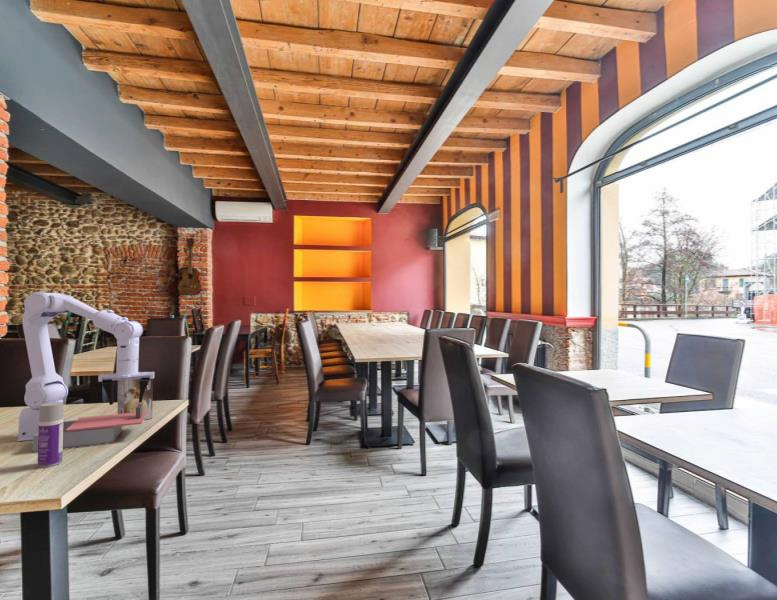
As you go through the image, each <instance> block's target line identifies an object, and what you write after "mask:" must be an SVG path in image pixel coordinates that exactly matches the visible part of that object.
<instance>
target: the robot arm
mask: <svg viewBox="0 0 777 600" xmlns="http://www.w3.org/2000/svg"><path fill="white" fill-rule="evenodd" d="M23 304H24V312H23V315H22V320H21V322H22V327H23V333H24V338H25V345H26V350H27V357H28V362H29V367H30V373H31V378H30V380H28V382H27V383H26V384H25V393H24V397H23V398H24V399H23V400H24V403H25V405H26V406H27V407H26V408H23V409H21V411H20V414H19V418H18V434H17V435H18V437H17V439H16V440H17V442H23V441H33V436H34V435H35V434H36V433H38V432H39V414H40V405H41V404H45V403H50V402H63V403H64V400H65V399H66V398H67V396H68V395H69V389H68V386H67V385H66V383H64V379H63V378H64V377H62V376H61V375H60V374H58V373H57V372H56V367H55V362H54V357H53V350H52V345H51V339H50V333H49V329H48V323H50V322H51V321H52V319H54V318H56V317H57V316H59V315H61V314H63V313H65V312H66V311H68V312H70V313H73V314H76V315H78V316H81V317H83V318H86V319H88V320H91V321H92V324H93V326H95V327H96V328H99V329H100V330H103V331H105V332H108V333H110V334H112V335H114V336H113V337H114V338H115V339H116V344H117V347H116V372H115V373H105V374H104V373H103V374H98V377H97V379H98V381H97V382H99V383H100V382H102V383H101V386H102V387H103V389H104V391H105V393H106V396H107V399H108V403H109V405H110V406H112V405H114V403H115V397H114V395H115V394H114V393H115V392H114V391H115V381H118V380H132V379H141V380H140V395H139V403H141V402H142V401H143V396H144V392H145V390H146V387H147V385H148V383H149V381H150V379H155V371H139V357H140V354H139V352H140V337H141V336H142V335H143V332H144V327H143V325H142V324H141V323H140V322H138V321H137V320H130V321H129V318H128V317H126V316H124V317H122V316H121V315H118V314H116V313H115V311H114V310H112V309H102V310H98V309H95V308H94V307H92V306H90V305H88V304H86V303H85V302H82V301H81V300H78V299H76V298H74V297H73V296H71V295H67V294H66V293H63V292H58V293H57V292H43V291H35V292H32V293H31V294H29V295H28V296H27V297H26V298H25V299H24V300H23ZM128 377H135V378H128Z"/></svg>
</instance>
